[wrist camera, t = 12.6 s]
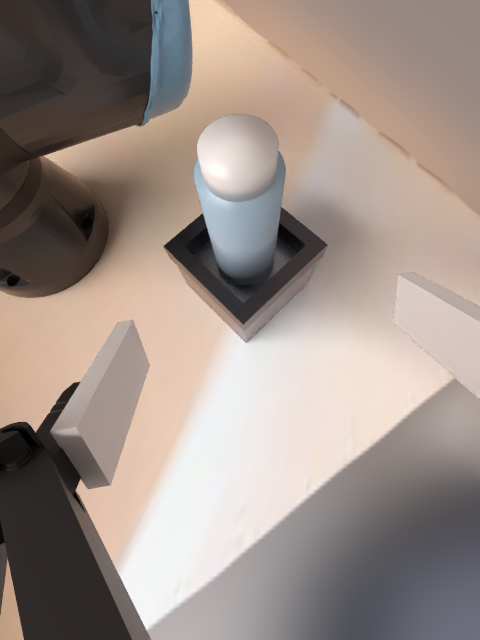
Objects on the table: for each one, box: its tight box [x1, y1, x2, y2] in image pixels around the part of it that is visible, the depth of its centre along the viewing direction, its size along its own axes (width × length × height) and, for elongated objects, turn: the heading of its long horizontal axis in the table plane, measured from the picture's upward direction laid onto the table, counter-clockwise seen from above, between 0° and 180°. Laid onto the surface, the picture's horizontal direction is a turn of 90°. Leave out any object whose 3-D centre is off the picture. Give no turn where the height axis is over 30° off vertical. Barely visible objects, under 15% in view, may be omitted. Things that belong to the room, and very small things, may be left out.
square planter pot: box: [164, 207, 327, 343], centre depth 27 cm, size 9×9×8 cm
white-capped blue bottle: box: [194, 114, 286, 285], centre depth 20 cm, size 5×5×12 cm
